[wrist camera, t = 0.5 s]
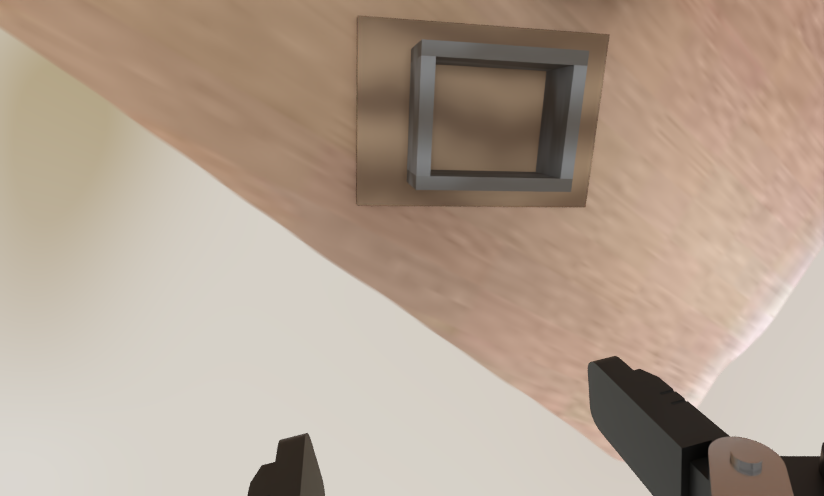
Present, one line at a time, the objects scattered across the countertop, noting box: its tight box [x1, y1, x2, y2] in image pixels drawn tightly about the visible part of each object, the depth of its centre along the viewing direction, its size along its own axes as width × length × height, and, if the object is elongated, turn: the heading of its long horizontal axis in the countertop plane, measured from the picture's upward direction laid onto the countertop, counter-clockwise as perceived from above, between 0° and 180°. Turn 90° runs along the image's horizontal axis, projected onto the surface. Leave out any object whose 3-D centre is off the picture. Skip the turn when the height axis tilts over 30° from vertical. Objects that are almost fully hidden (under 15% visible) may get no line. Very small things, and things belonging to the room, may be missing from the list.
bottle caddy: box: [356, 16, 609, 207], centre depth 35 cm, size 14×20×6 cm
